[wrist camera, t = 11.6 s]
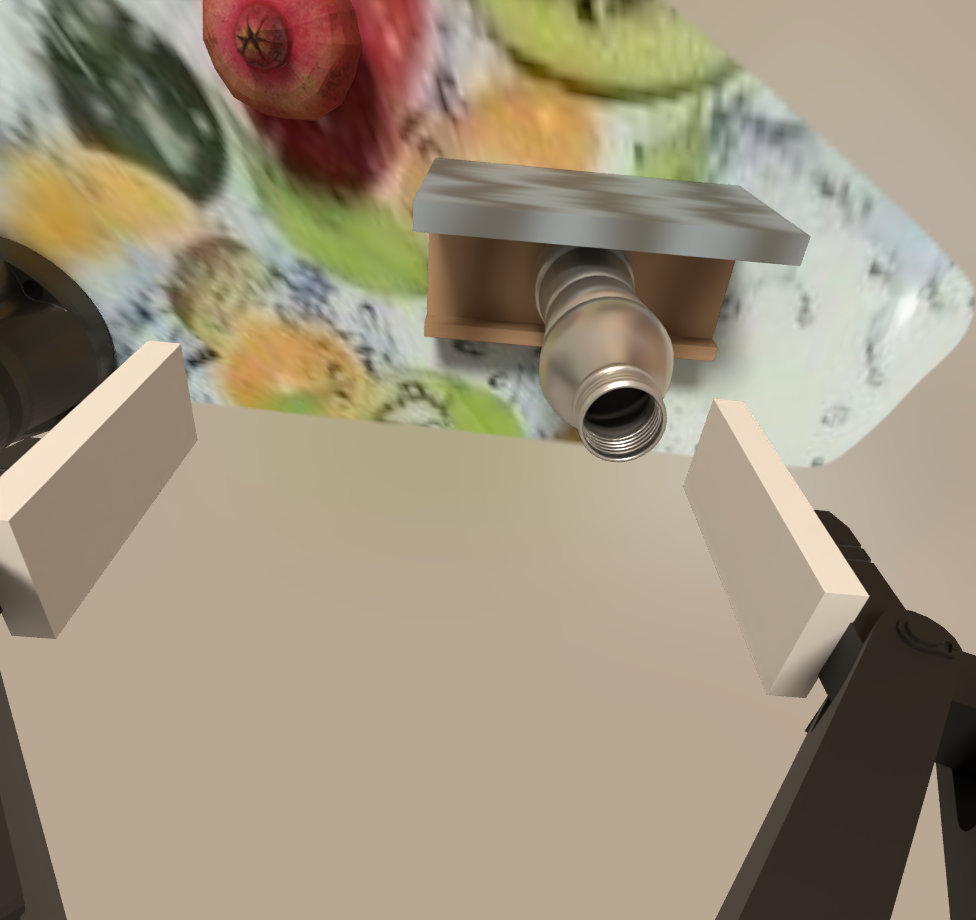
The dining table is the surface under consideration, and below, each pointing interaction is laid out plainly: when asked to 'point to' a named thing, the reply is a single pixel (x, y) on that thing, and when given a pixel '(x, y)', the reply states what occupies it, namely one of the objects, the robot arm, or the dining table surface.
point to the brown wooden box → (586, 245)
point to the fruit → (284, 53)
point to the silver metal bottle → (601, 350)
